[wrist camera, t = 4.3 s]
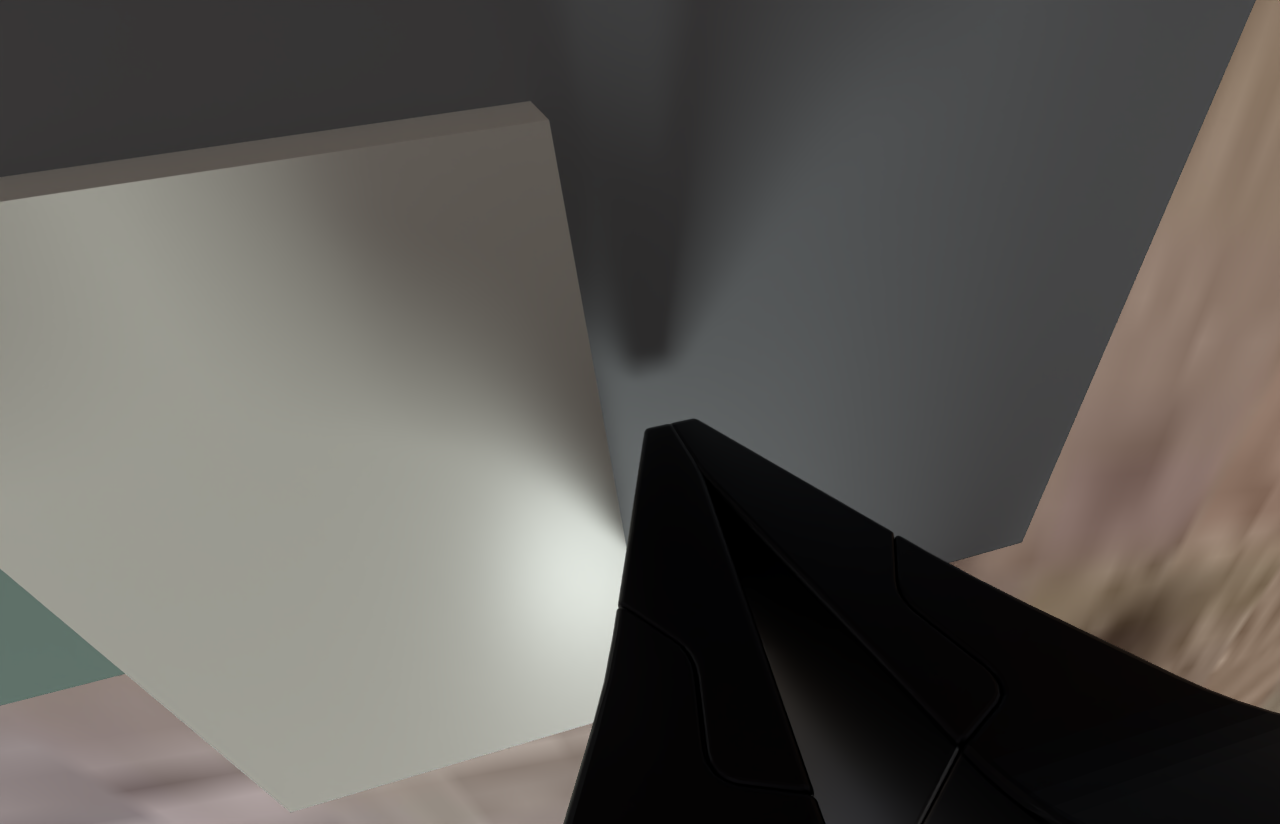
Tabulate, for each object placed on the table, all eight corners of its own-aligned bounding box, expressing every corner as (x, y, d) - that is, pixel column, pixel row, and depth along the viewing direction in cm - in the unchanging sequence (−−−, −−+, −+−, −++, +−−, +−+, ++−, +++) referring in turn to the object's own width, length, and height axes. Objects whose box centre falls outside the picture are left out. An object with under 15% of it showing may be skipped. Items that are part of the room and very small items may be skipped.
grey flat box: (920, 449, 17) (1021, 542, 14) (402, 578, 15) (378, 723, 12) (1055, -113, 10) (1342, -199, 6) (74, -8, 8) (-235, -56, 4)
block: (626, 593, 11) (655, 704, 9) (327, 672, 11) (290, 812, 9) (530, 101, 6) (548, 120, 4) (-62, 185, 5) (-373, 256, 3)
